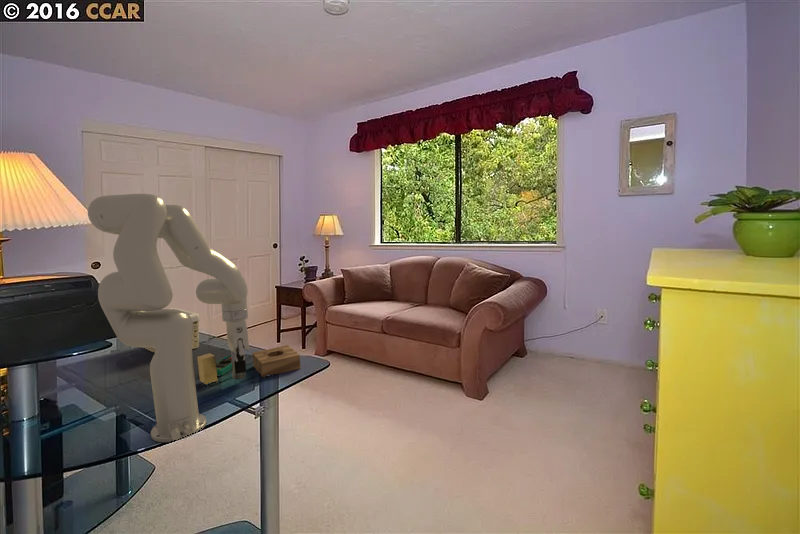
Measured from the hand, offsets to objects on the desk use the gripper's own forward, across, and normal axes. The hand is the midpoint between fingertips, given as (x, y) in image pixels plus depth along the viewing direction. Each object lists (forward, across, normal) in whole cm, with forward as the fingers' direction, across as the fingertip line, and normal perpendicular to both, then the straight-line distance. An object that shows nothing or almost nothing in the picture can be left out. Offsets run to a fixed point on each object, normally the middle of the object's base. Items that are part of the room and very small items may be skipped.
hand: (238, 370), depth 132 cm
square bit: (+5, +8, +8) cm, 12 cm away
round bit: (+2, 0, 0) cm, 2 cm away
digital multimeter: (+5, +18, +1) cm, 19 cm away
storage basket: (+4, +57, +16) cm, 59 cm away
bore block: (+4, +7, -14) cm, 16 cm away
